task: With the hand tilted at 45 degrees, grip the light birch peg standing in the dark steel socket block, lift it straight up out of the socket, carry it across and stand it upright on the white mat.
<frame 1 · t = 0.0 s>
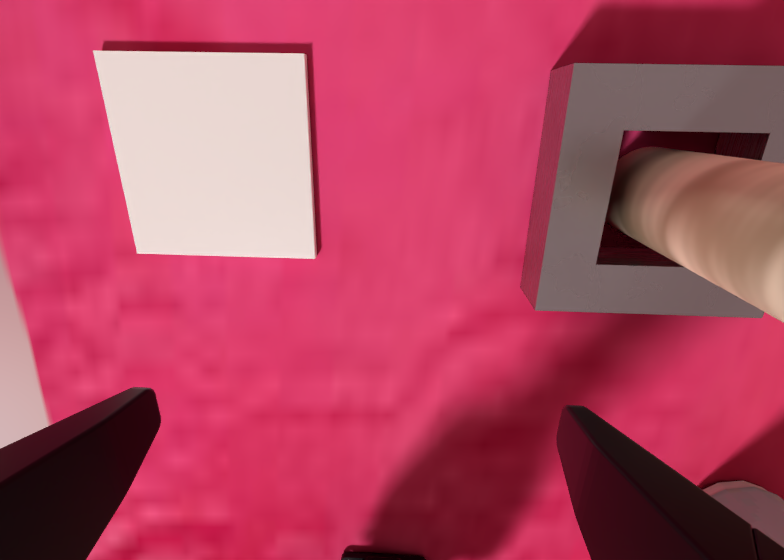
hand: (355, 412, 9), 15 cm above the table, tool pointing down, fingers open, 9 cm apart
white mat: (217, 161, 22), on the table
birch peg: (733, 221, 15), in the socket block
disposable coffee cup: (726, 510, 29), on the table
socket block: (642, 191, 21), on the table
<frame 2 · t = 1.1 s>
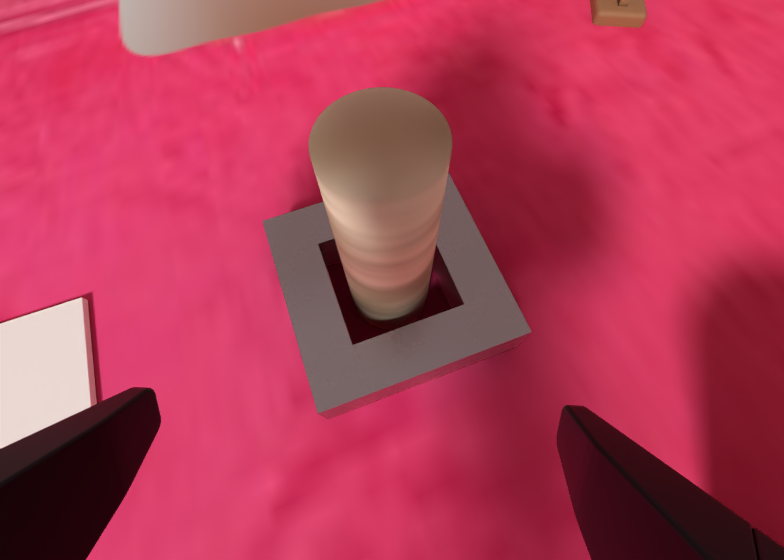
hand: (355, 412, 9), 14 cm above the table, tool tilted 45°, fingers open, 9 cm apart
birch peg: (386, 241, 19), in the socket block
socket block: (389, 293, 25), on the table
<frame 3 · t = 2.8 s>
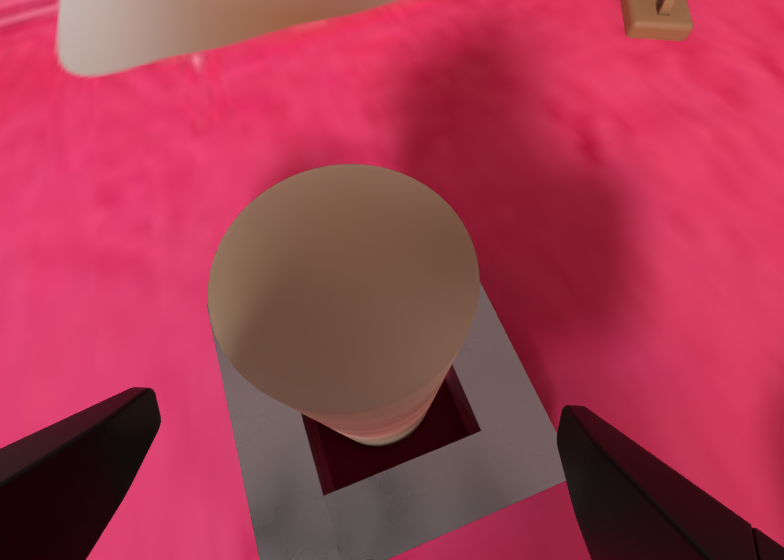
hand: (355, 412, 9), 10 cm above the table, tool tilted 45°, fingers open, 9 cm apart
birch peg: (369, 361, 13), in the socket block
socket block: (379, 394, 19), on the table
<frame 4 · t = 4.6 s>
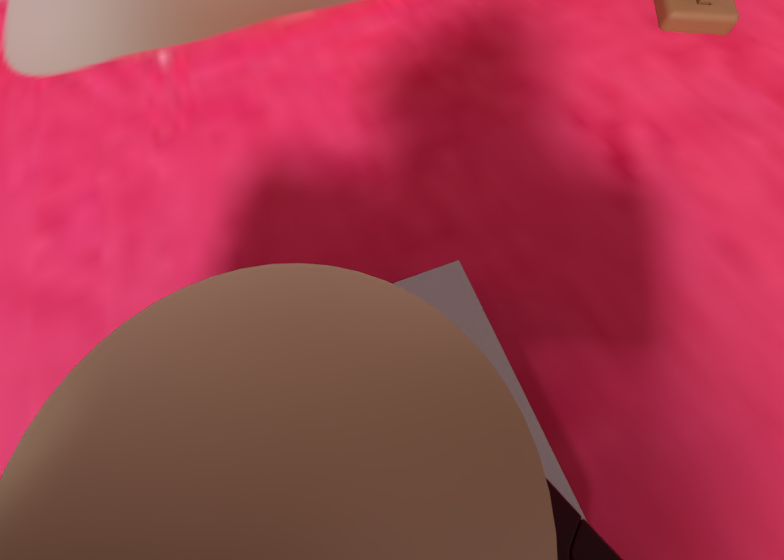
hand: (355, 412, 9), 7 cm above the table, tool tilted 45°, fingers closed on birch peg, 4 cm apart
birch peg: (353, 481, 9), in the socket block, touching gripper
socket block: (371, 472, 15), on the table
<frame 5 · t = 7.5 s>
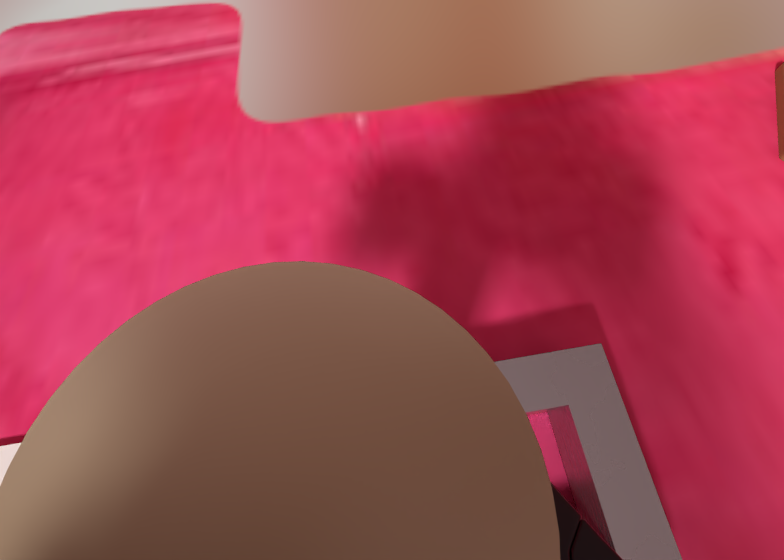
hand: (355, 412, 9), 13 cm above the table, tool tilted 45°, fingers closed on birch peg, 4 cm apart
white mat: (53, 546, 20), on the table
birch peg: (354, 480, 9), point 13 cm above the table, touching gripper
socket block: (507, 484, 21), on the table
when the fingers open (9 cm above the table, at t = 10.6 s): birch peg drops 1 cm, resting on white mat.
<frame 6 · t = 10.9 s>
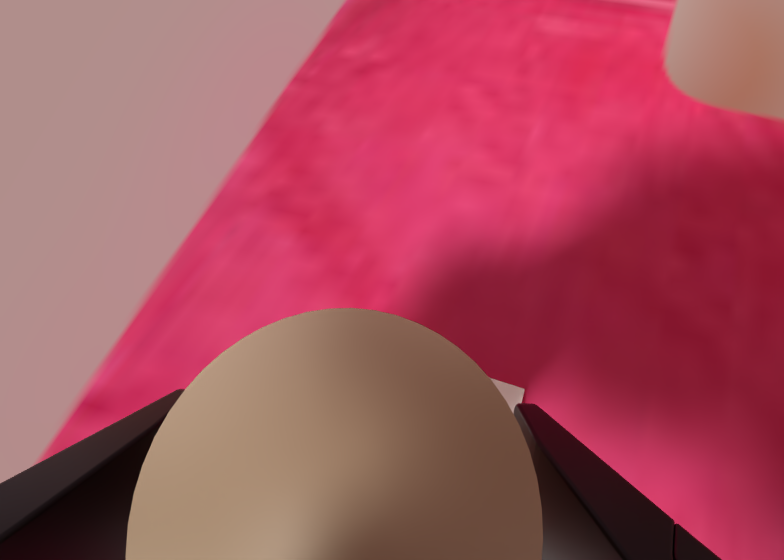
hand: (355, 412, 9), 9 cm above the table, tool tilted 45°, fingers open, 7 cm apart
white mat: (374, 471, 17), on the table
birch peg: (365, 478, 10), on the white mat
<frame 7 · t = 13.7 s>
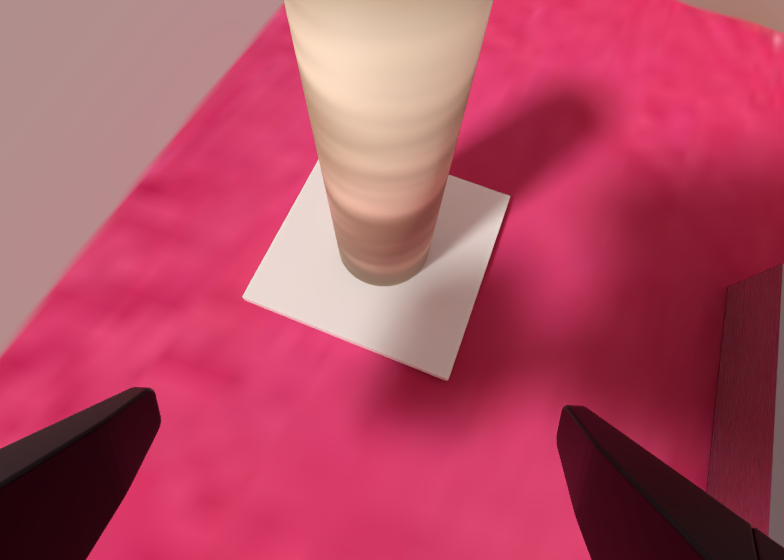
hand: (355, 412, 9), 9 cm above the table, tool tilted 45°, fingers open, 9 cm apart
white mat: (384, 247, 21), on the table
birch peg: (385, 160, 14), on the white mat
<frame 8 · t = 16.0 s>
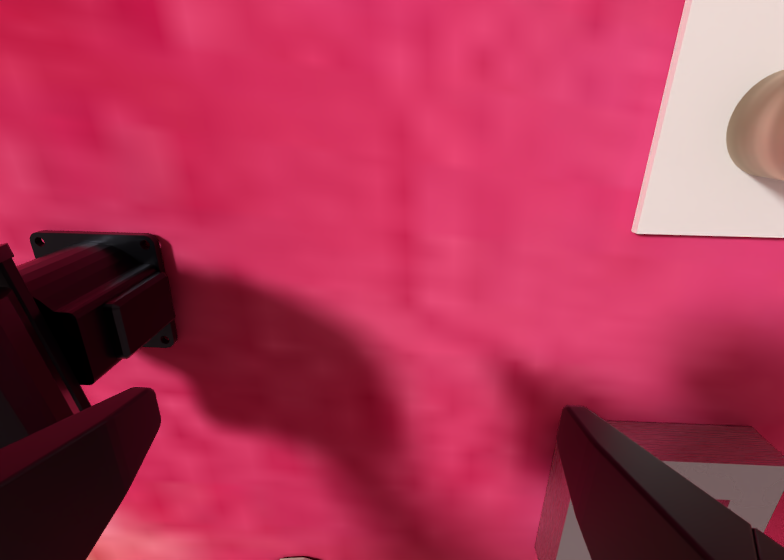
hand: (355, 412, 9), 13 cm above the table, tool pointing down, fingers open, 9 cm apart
white mat: (772, 124, 18), on the table
socket block: (634, 491, 27), on the table
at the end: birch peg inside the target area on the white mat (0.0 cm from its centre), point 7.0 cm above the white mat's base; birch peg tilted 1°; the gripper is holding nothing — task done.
